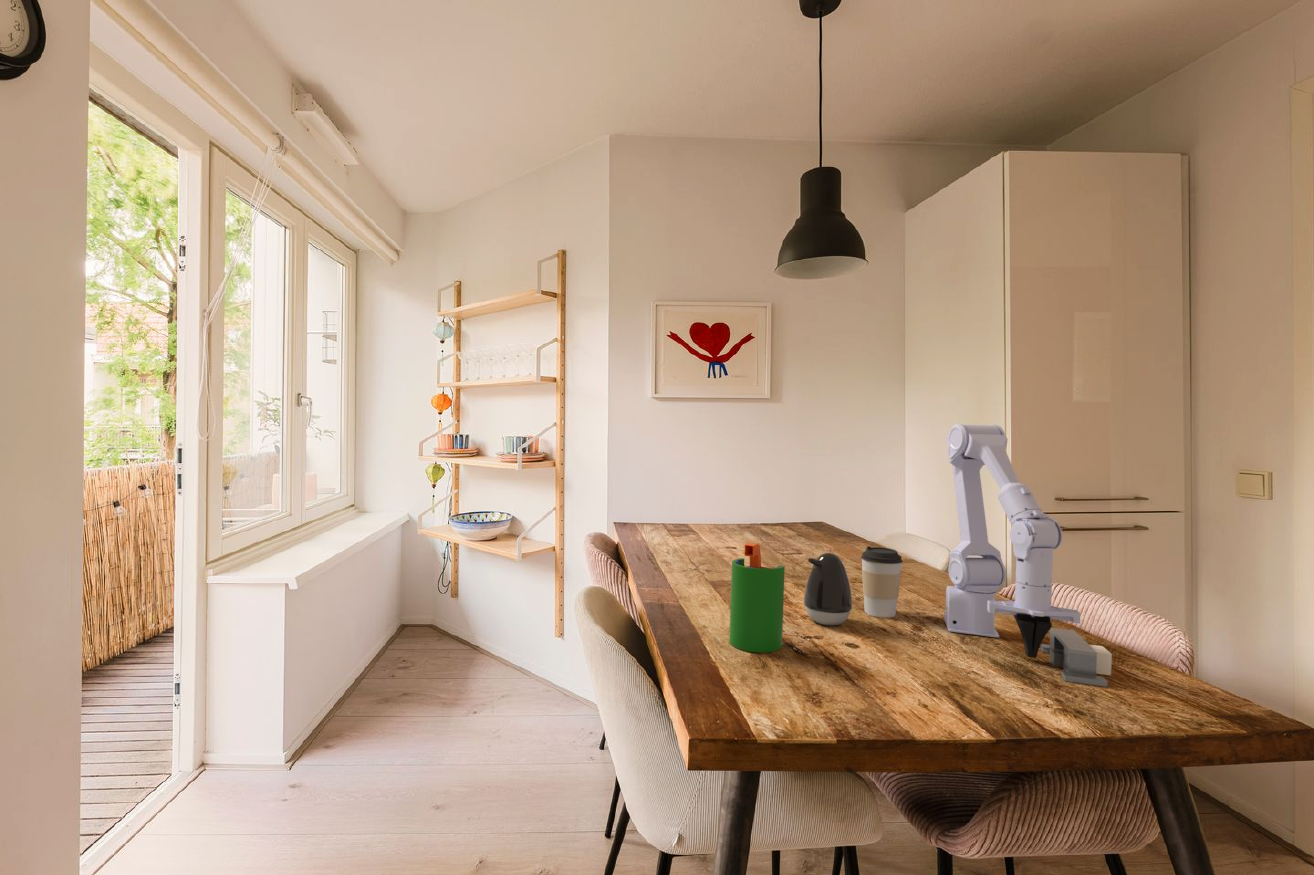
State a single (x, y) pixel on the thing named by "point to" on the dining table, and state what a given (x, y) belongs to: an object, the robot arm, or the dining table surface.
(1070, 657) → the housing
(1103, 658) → the plug
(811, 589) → the black penguin figurine
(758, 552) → the motor
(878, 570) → the coffee cup
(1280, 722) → the dining table surface
